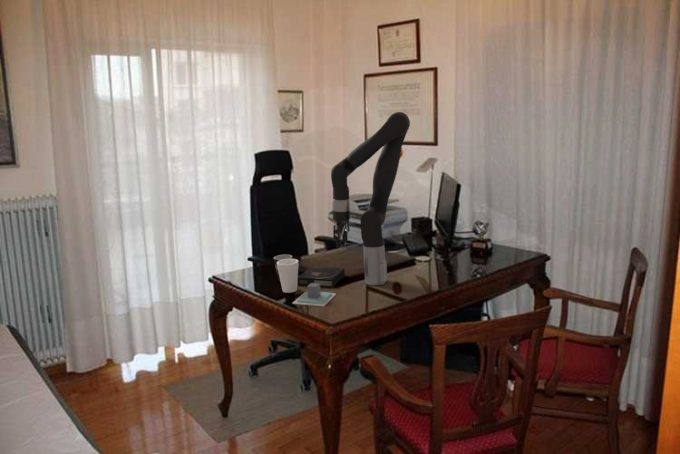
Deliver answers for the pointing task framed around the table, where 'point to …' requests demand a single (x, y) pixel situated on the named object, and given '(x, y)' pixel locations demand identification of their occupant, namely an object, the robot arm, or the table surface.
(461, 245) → the table surface
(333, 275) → the portable cd player
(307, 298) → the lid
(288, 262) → the foam cup
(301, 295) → the tray
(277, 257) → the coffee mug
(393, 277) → the table surface
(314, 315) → the table surface
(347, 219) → the robot arm
